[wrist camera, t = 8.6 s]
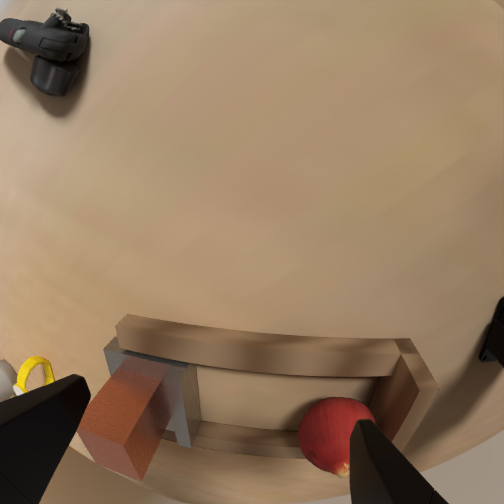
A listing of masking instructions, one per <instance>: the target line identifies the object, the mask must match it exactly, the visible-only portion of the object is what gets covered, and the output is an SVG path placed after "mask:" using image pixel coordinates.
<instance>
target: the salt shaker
mask: <svg viewBox="0 0 504 504" xmlns="http://www.w3.org/2000/svg"><path fill="white" fill-rule="evenodd" d="M17 376H18V375H17V374H16V372H15V371H14V369H13V367H12V366H11V365H10V364H9V363H8V362H7V361H5V360H0V402H2V401H4V400H6V399H7V398H9V397H11V396H12V395H14V393H15V392H14V389H13V385H14V384H16V383H17Z"/></svg>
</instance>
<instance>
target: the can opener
mask: <svg viewBox="0 0 504 504" xmlns="http://www.w3.org/2000/svg"><path fill="white" fill-rule="evenodd" d="M67 10H68V9H66V10H65V11H64V10H62V9H60V8H56V13H55V14H54V13H52V14H51V17H50V18H49V19H48V20H47V21H46V22H45V23H44V24H43V23H40V22H36V21H22V20H18V19H12V18H8V19H4V20H3V21H1V22H0V40H1V41H3V42H4V43H6V44H8V45H11V46H13V47H16V48H20V49H22V50H26V51H29V52H32V53H35V54H37V55H38V56H35V59H34V64H33V68H32V73H31V78H30V80H31V82H32V84H33V85H34V86H35V87H36V88H37V89H38V90H39V91H41V92H43V93H45V94H48V95H52V96H65V95H66V94H67V92H68V90H69V88H70V87H71V85H72V83H73V81H74V80H75V78H76V76H77V74H78V69H77V67H76V66H75V65H74V64H72V63H71V62H69V61H68V60H75V59H76V58H77V57H79V56H80V55H81V54H82V52H83V51H84V49H85V47H86V44H87V41H88V37H89V26H88V25H87V24H85V23H80V24H78V23H74V22H71V17H70V16H69V14H68V13H67ZM66 60H67V61H66Z"/></svg>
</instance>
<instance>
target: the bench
mask: <svg viewBox="0 0 504 504" xmlns="http://www.w3.org/2000/svg"><path fill="white" fill-rule="evenodd" d="M115 327H116V332H117V337H118V342H119V347H120V348H122V349H126V350H130V351H134V352H139V353H143V354H148V355H152V356H157V357H162V358H167V359H172V360H177V361H183V362H188V363H194V364H200V365H207V366H213V367H220V368H228V369H236V370H244V371H253V372H264V373H275V374H288V375H306V376H336V377H366V376H380V379H379V381H378V384H377V387H376V389H375V392H374V394H373V397H372V399H371V402H370V404H369V407H368V409H369V410H370V412H371V413H372V415H373V417H374V419H375V424H376V425H377V426H378V427H379V429H380V430H381V431H382V432H383V433H384V434H385V435H386V436H387V438H388V439H389V440H390V441H391V442H392V443H393V444H394V445H395V447H396V448H397V449H398V450H399V451H400V452H402V451H403V449H404V448H405V446H406V445H407V443H408V442H409V440H410V439H411V437H412V436H413V434H414V432H415V431H416V429H417V428H418V426H419V424H420V423H421V421H422V419H423V418H424V416H425V414H426V412H427V411H428V409H429V407H430V405H431V403H432V402H433V400H434V398H435V396H436V394H437V392H438V390H439V387H438V385H437V383H436V381H435V380H434V378H433V376H432V374H431V373H430V371H429V369H428V367H427V366H426V364H425V362H424V361H423V359H422V357H421V356H420V354H419V352H418V351H417V349H416V347H415V346H414V344H413V343H412V341H411V339H359V338H328V337H308V336H292V335H279V334H267V333H256V332H246V331H237V330H228V329H219V328H211V327H204V326H196V325H189V324H182V323H176V322H169V321H163V320H157V319H151V318H146V317H140V316H135V315H129V314H127V315H126V316H125V317H124V318H123V319H122V320H121V321H120V322H119V323H118V324H117V325H116V326H115ZM162 439H166V440H170V441H174V442H177V438H176V434H175V432H174V431H170V430H165V432H164V434H163V436H162ZM193 446H196V447H201V448H206V449H212V450H217V451H224V452H230V453H237V454H245V455H254V456H264V457H277V458H297V459H307V458H306V457H305V456H304V455H303V453H302V451H301V449H300V444H299V437H298V432H297V431H279V430H266V429H256V428H247V427H239V426H231V425H225V424H218V423H212V422H206V421H201V423H200V426H199V429H198V432H197V435H196V437H195V440H194V443H193Z"/></svg>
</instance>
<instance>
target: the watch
mask: <svg viewBox="0 0 504 504" xmlns="http://www.w3.org/2000/svg"><path fill="white" fill-rule="evenodd" d="M41 363H42V364H43V367H44V370H45V374H46V378H45V383H44V385H43V386H45V385H47V384H50V383H52V382H54V381H55V380H54V377H53V373H52V370H51V366H50V365H51V364H50V362H48V361H46V360H45V359H43V358H41V357H39V356H33V357H30V358H28V359H27V360H26V361H25V362H24V363H23V364H22V366H21V368H20V370H19V373H18V376H17V383H16V384H14V385H13V389H14V392H15V393H16V395H17V396H18V395H21V394H24V393H26V392H28V391H27V389H26V381H27V378H28V376H29V374H30V371H31V370H32V369H33V368H34V367H35V366H36V365H38V364H41Z"/></svg>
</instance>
